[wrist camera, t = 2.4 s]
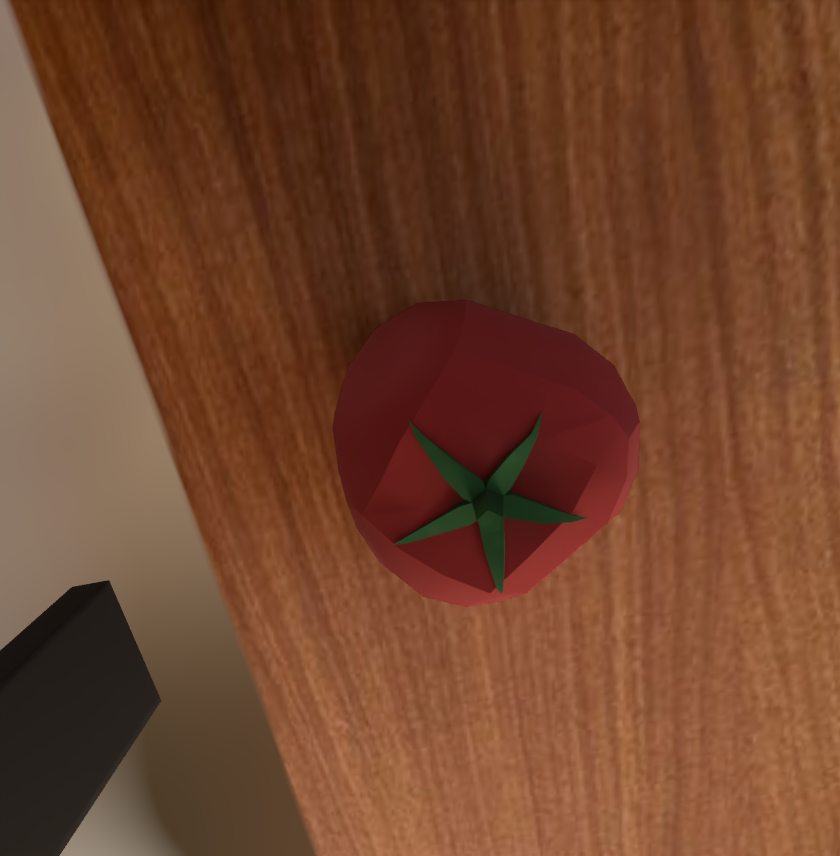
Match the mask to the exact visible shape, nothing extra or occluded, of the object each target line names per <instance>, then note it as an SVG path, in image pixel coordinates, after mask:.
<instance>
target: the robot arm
mask: <svg viewBox="0 0 840 856" xmlns="http://www.w3.org/2000/svg"><path fill="white" fill-rule="evenodd" d="M160 702H161V699H160V697H159V695H158V692H157V690H156V687H155V685H154V683H153V681H152V678H151V676H150V674H149V671H148V669H147V667H146V664H145V662H144V660H143V657H142V655H141V653H140V651H139V648H138V646H137V644H136V641H135V639H134V637H133V634H132V632H131V630H130V627H129V625H128V623H127V621H126V618H125V616H124V614H123V611H122V609H121V607H120V604H119V602H118V600H117V598H116V595H115V593H114V591H113V588H112V586H111V584H110V581H102V582H97V583H91V584H86V585H81V586H75V587H72V588H70V589H69V590H68V591H67V592H66V593H65V594H64V595H63V596H61V597H60V598H59V599H58V600H57V601H56V602H55V603H53V605H51V606H50V607H49V608H48V609H47V610H46V611H44V612H43V613H42V614H41V615H40V616H39V617H38V618H37V619H35V620H34V621H33V622H32V623H31V624H30V625H29V626H27V627H26V628H25V629H24V630H23V631H22V632H21V633H20V634H19V635H17V636H16V637H15V638H14V639H13V640H12V641H11V642H10V643H9V644H7V645H6V646H5V647H4V648H3V649H2V650H1V651H0V856H59V855H60V854H61V852H62V851H63V849H64V848H65V846H66V845H67V843H68V842H69V840H70V838H71V837H72V836H73V834H74V833H75V831H76V829H77V828H78V827H79V825H80V824H81V822H82V821H83V819H84V817H85V816H86V814H87V813H88V811H89V810H90V808H91V807H92V805H93V804H94V802H95V800H96V799H97V797H98V796H99V795H100V793H101V792H102V790H103V789H104V787H105V785H106V784H107V782H108V781H109V779H110V778H111V776H112V775H113V773H114V772H115V770H116V769H117V767H118V765H119V764H120V763H121V761H122V760H123V758H124V757H125V755H126V754H127V752H128V750H129V749H130V747H131V746H132V744H133V743H134V741H135V740H136V738H137V737H138V735H139V734H140V732H141V731H142V729H143V728H144V726H145V725H146V723H147V722H148V720H149V719H150V717H151V715H152V714H153V712H154V711H155V709H156V708H157V706H158V705H159V703H160Z"/></svg>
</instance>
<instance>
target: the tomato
mask: <svg viewBox="0 0 840 856" xmlns="http://www.w3.org/2000/svg"><path fill="white" fill-rule="evenodd" d="M639 433H640V421H639V417H638V413H637V408H636V405H635V403H634V401H633V400H632V398H631V396H630V394H629V392H628V390H627V388H626V387H625V385H624V383H623V381H622V379H621V377H620V375H619V374H618V372H617V370H616V368H615V366H614V365H613V364H612V363H611V362H609V361H608V360H607V359H605V358H604V357H603V356H602V355H600V354H599V353H598V352H597V351H595V350H594V349H593V348H591V347H590V346H589V345H588V344H586V343H585V342H584V341H583V340H581V339H580V338H579V337H577V336H576V335H575V334H572V333H569V332H566V331H562V330H559V329H556V328H553V327H550V326H547V325H544V324H540V323H537V322H534V321H531V320H528V319H525V318H521V317H518V316H515V315H512V314H509V313H506V312H502V311H499V310H496V309H493V308H490V307H487V306H484V305H480V304H477V303H474V302H471V301H468V300H457V301H441V302H426V303H416V304H414V305H413V306H411V307H409V308H408V309H406V310H405V311H403V312H401V313H400V314H398V315H397V316H395V317H393V318H392V319H390V320H389V321H387V322H386V323H384V324H382V325H381V326H379V327H378V328H376V329H375V330H374V332H373V333H372V334H371V336H370V337H369V339H368V340H367V341H366V343H365V344H364V345H363V347H362V348H361V350H360V351H359V352H358V354H357V355H356V357H355V358H354V359H353V361H352V362H351V364H350V365H349V366H348V368H347V371H346V374H345V378H344V382H343V385H342V389H341V392H340V396H339V399H338V403H337V407H336V410H335V415H334V422H333V434H334V441H335V447H336V454H337V461H338V468H339V473H340V477H341V481H342V485H343V488H344V492H345V496H346V500H347V503H348V506H349V508H350V511H351V514H352V516H353V519H354V521H355V524H356V527H357V529H358V530H359V532H360V533H361V535H362V536H363V538H364V539H365V541H366V542H367V544H368V545H369V547H370V549H371V550H372V552H373V553H374V555H375V556H376V558H377V559H378V561H379V562H380V564H382V565H383V566H384V567H386V568H387V569H388V570H390V571H391V572H392V573H394V574H395V575H396V576H398V577H399V578H400V579H402V580H403V581H404V582H405V583H407V584H408V585H409V586H411V587H412V588H413V589H414V590H416V591H417V592H418V593H420V594H421V595H422V596H423V597H426V598H431V599H435V600H439V601H443V602H447V603H452V604H456V605H460V606H464V607H470V606H476V605H482V604H489V603H495V602H500V601H503V600H506V599H509V598H513V597H516V596H519V595H522V594H525V593H527V592H528V591H530V590H531V589H532V588H534V587H535V586H536V585H538V584H539V583H540V582H541V581H543V580H544V579H545V578H546V577H547V576H548V575H549V574H551V573H552V572H553V571H554V570H555V569H556V568H557V567H558V566H560V565H561V564H562V563H563V562H564V561H565V560H566V559H568V558H569V557H570V556H571V555H572V554H573V553H574V552H576V551H577V550H578V549H579V548H580V547H581V546H582V545H583V544H585V543H586V542H587V541H588V540H589V539H590V538H591V537H593V536H594V535H595V534H596V533H597V532H598V531H599V530H601V529H602V528H603V527H604V526H605V525H606V524H607V523H608V522H610V521H611V520H612V519H613V518H614V517H615V516H616V515H618V514H619V513H620V511H621V509H622V507H623V504H624V502H625V500H626V497H627V495H628V493H629V490H630V488H631V486H632V483H633V481H634V479H635V476H636V474H637V472H638V469H639Z"/></svg>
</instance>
